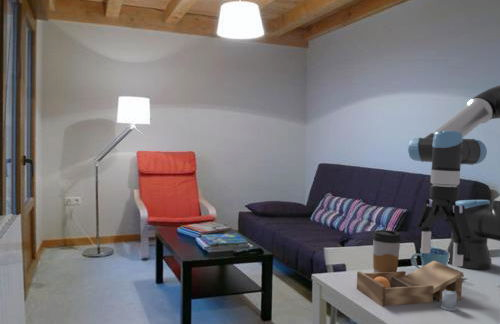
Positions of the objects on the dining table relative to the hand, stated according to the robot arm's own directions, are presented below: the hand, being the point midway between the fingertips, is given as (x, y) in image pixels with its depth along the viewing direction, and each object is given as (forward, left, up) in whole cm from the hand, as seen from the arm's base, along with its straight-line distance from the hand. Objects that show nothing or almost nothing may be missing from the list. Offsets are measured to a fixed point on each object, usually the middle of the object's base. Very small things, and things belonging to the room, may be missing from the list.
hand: (440, 259), depth 124 cm
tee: (+6, +11, -10) cm, 16 cm away
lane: (+10, 0, -10) cm, 14 cm away
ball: (+19, 0, -7) cm, 20 cm away
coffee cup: (+10, -12, -10) cm, 18 cm away
